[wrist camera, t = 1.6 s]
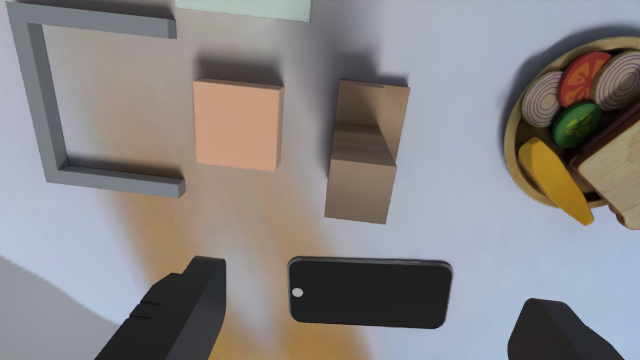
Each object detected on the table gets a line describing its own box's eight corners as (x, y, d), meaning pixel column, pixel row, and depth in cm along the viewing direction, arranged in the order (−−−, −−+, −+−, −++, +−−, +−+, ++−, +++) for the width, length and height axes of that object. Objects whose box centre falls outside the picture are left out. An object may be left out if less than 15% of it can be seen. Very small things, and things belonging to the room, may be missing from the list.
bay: (21, 3, 24) (5, 1, 23) (175, 20, 24) (167, 19, 23) (57, 176, 29) (46, 182, 28) (185, 192, 29) (178, 198, 28)
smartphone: (286, 258, 30) (456, 264, 29) (287, 253, 31) (453, 259, 30) (289, 323, 33) (444, 331, 32) (290, 317, 34) (442, 325, 33)
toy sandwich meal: (636, -8, 22) (711, -21, 17) (713, 147, 25) (793, 169, 20) (465, 117, 25) (491, 133, 21) (552, 238, 29) (590, 273, 24)
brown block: (339, 79, 24) (338, 103, 14) (408, 86, 24) (455, 117, 14) (327, 179, 28) (319, 259, 17) (388, 186, 27) (415, 271, 17)
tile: (206, 77, 25) (193, 81, 23) (285, 85, 25) (279, 90, 23) (209, 152, 28) (197, 162, 25) (281, 160, 28) (275, 171, 25)
